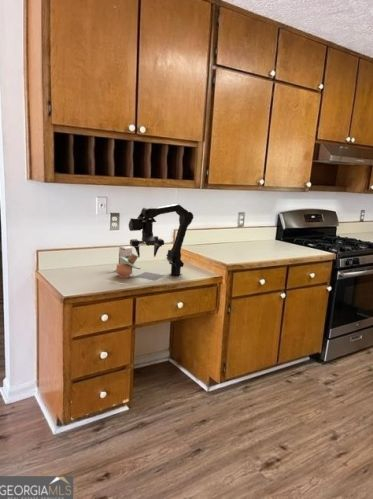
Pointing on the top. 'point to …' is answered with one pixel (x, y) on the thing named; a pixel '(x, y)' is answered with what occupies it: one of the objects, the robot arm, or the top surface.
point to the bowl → (124, 270)
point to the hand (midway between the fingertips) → (146, 257)
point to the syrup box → (124, 253)
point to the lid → (131, 260)
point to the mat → (150, 276)
